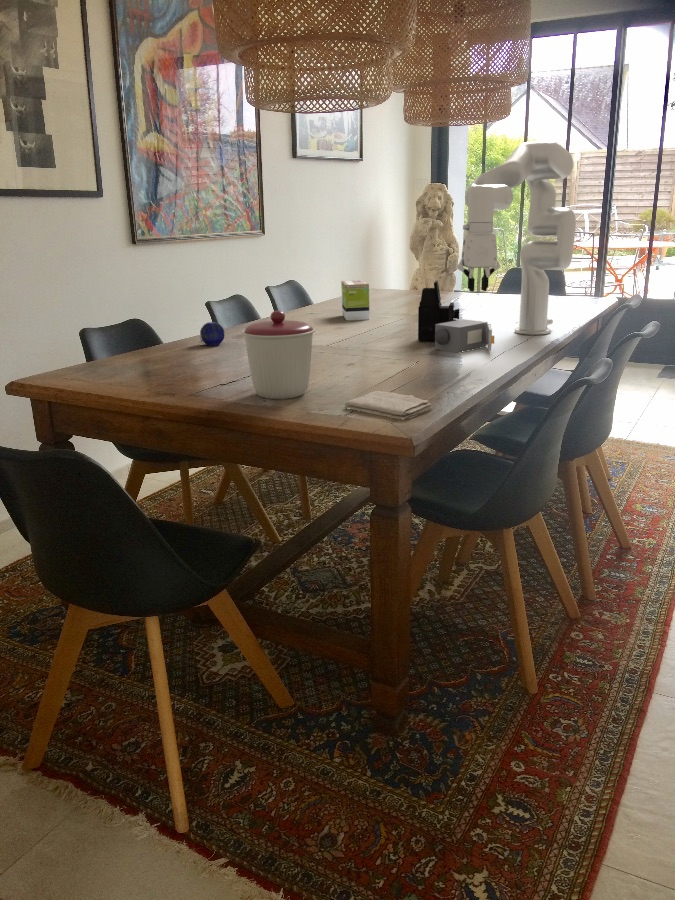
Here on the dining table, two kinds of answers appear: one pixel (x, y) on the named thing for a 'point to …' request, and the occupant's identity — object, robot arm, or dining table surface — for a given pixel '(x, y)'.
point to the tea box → (355, 300)
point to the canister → (279, 356)
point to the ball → (211, 334)
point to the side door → (489, 337)
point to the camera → (433, 313)
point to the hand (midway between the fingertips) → (477, 290)
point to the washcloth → (389, 405)
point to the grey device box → (460, 335)
